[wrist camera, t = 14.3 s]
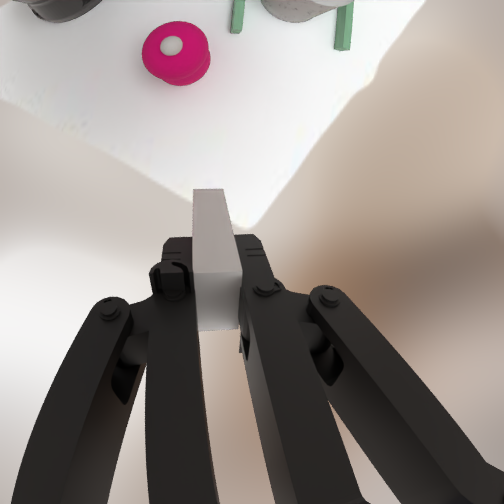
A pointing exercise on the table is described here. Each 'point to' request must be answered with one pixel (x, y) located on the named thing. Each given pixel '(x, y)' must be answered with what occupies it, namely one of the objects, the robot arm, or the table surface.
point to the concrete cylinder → (301, 8)
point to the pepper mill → (176, 53)
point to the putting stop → (341, 27)
